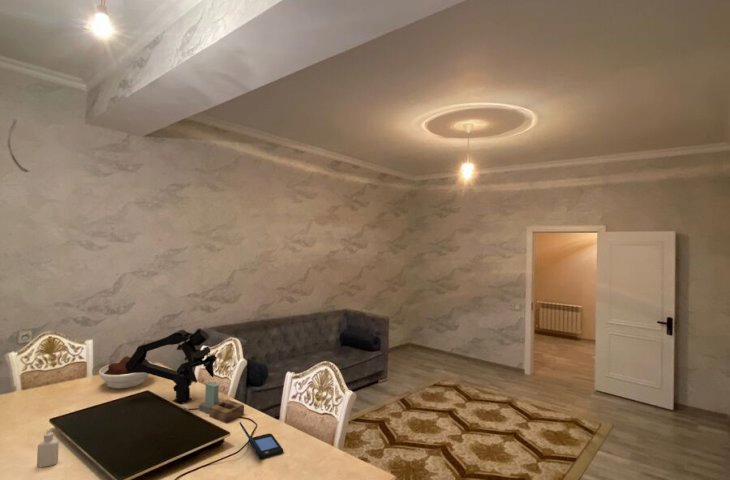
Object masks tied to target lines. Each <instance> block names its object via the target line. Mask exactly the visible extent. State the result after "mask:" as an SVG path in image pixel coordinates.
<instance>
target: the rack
mask: <svg viewBox="0 0 730 480" xmlns="http://www.w3.org/2000/svg"><path fill="white" fill-rule="evenodd" d="M219 402H220V403H218V404H215V405H213V406H211V407H210V413H209V414H208V416H209V418H212V419H214V420H217V421H219V422H220V423H221V422H222V423H224V424H228V423H230V422H232V421H234V420H237V419H238V418H240V417H242V416H244V415H245V405H244V404H242V403H241V402H240V403H239V402H236V401H234V400H230V399H225V400H223V401H219Z"/></svg>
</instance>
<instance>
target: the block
mask: <svg viewBox="0 0 730 480" xmlns="http://www.w3.org/2000/svg"><path fill="white" fill-rule="evenodd" d="M219 387H220V385H219V384H217V383H213V382H211V381H210V382H206V383H205V394H204V395H205V396H204V402H205V403H206V404H209V405H212V406H213V405H215V404H218V401H219V391H220V390H219V389H220V388H219Z"/></svg>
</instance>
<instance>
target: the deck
mask: <svg viewBox="0 0 730 480" xmlns="http://www.w3.org/2000/svg"><path fill="white" fill-rule="evenodd" d="M220 402H221V401H219V400H218V403H220ZM198 406H199V407H198V408H199V412H200V413H201V412H202V413H204V414H207V415H209V413H210V407H211V406H212V405H209V404H206V403H205V401H204V402H202V403H200V404H199V405H198Z"/></svg>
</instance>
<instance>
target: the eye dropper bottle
mask: <svg viewBox="0 0 730 480" xmlns="http://www.w3.org/2000/svg"><path fill="white" fill-rule="evenodd" d="M59 447H60V446H59V440H58V439H55V438H54V432H53V431H51V429H50V428H49V429H47V432H46V433H45V434H44V435H43V440H42V441H40V442H39V443H38V445H37V449H36V451H37V454H36V455H37V457H36V467H38V466H47V467H51V465H52V466H54V465H55V466H56V464H57V463H58V462H59Z"/></svg>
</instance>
